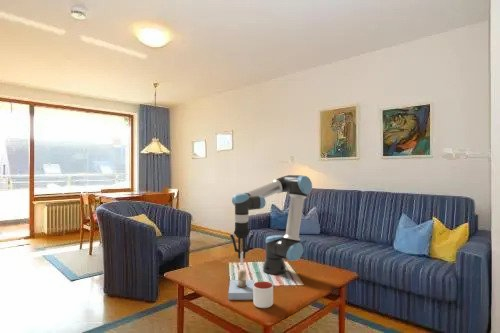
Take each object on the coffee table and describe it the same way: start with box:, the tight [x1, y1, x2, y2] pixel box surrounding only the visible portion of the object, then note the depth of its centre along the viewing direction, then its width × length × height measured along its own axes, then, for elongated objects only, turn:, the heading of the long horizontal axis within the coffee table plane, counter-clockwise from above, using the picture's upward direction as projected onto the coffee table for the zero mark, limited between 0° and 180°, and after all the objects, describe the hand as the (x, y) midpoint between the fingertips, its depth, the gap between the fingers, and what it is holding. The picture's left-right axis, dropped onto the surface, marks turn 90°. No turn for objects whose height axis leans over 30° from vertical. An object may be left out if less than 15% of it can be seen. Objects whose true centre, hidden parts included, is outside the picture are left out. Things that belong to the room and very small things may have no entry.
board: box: [227, 279, 255, 301], centre depth 172 cm, size 14×18×4 cm
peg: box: [237, 269, 247, 288], centre depth 172 cm, size 4×4×12 cm
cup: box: [252, 280, 274, 309], centre depth 157 cm, size 10×10×10 cm
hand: (241, 264), depth 171 cm, fingers closed
